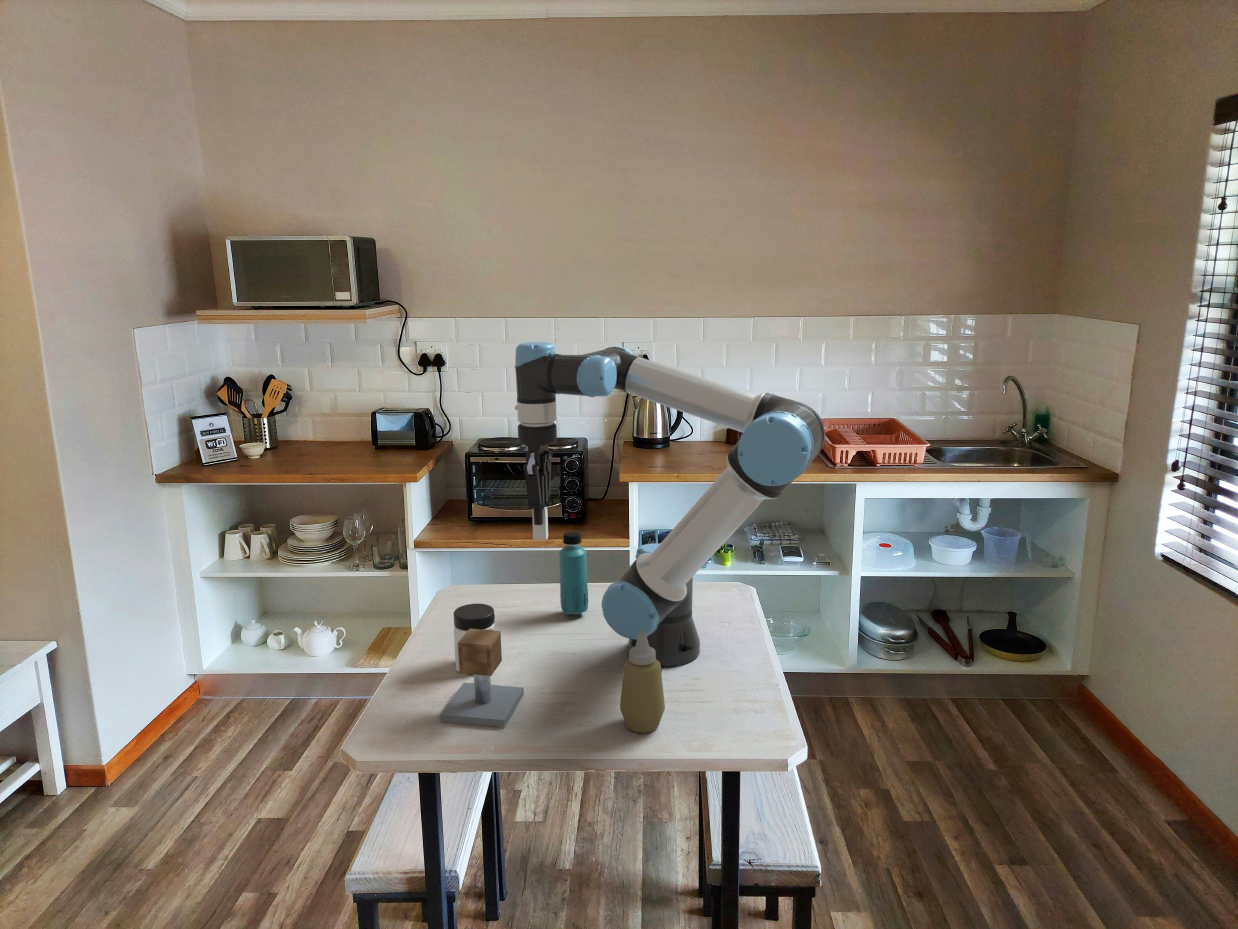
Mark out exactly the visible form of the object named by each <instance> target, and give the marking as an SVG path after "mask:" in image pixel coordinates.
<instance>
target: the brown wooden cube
mask: <svg viewBox="0 0 1238 929" xmlns="http://www.w3.org/2000/svg"><path fill="white" fill-rule="evenodd" d="M501 635H502V633H501V630H495V631H494V630H481V629H469V630H468V631H467V632H466V634H465V635H464V636H463V637H462V638H461V640H460V641H459V642H458V654H459V671H460V672H459V671H458V672H459V674H464V675H471V674H474V675H486V676H490V677H492V676H493V675H494V673H495V671H496V670H497V668H498V667H499V665H500V664H501V663H502V661H503V657H502V656H503V655H502V636H501ZM474 675H473V676H474Z"/></svg>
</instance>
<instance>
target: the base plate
mask: <svg viewBox="0 0 1238 929" xmlns="http://www.w3.org/2000/svg"><path fill="white" fill-rule="evenodd" d="M524 691H525V689H524V687H522V686H511V685H510V686H509V685H499V684H497V685H496V684H491V702H490V703H488V704H484V705H480V704H477V703H475V692H474V682H473V683H472V682H463V683H462V684H461V685H460V687H459V688H458V690H457V691H456V692H455V693H454V695H453V697H451V699H450V701H449V702H448V704H446V706H445V707H444V709H443V710H442V711H441V713H440V715H439V716H440V722H441V723H448V722H450V724H459V723H461V724H460V725H469V726H472V725H473V724H474V725H473V726H480V725H481V726H482V725H483V727H491V726H494V727H493V728H502V727H505V728H506V726H507V725H508V723H509V720H511V718H512V716H513V714H514V712H515V711H516V709H517V708H518V705H519V704H520V702H521V701H522V698H523V697H524V695H525V693H524ZM470 724H471V725H470ZM506 724H507V725H506ZM481 726H480V727H481Z"/></svg>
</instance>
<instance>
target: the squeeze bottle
mask: <svg viewBox="0 0 1238 929" xmlns="http://www.w3.org/2000/svg"><path fill="white" fill-rule="evenodd" d="M622 671H623V672H622V681H621V689H620V701H619V710H620V712H621V716H622V718H623V720H624V724H625V726H626V727H627V728H628V730H630V731H632V732H634V733H639V734H640V733H641V734H643V733H651V732H654V731H655V730H657V729H658V727H659V725H660V724H661V720H662V717H663V715H664V712H665V710H666V704H665V695H664V685H663V675H662V666H661V665H660V662H659V661H658V660H656V652H655V649H653V648H652V647H649V644H648V640H647V635H646V631H644V630H641V631H639V634H638V638H637V643H636V646H635V647H633V648H631V649H630V650H629V649H628V659H626V661H625V662H624V664H623V670H622Z"/></svg>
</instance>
